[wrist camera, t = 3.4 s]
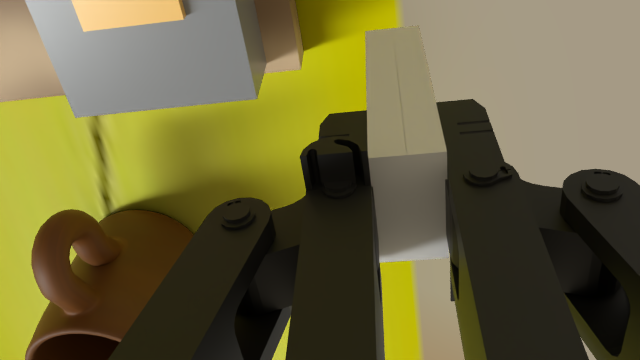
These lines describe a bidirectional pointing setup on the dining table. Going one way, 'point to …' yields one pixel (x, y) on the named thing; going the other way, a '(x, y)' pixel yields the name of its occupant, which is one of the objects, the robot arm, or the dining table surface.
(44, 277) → the mug
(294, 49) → the board
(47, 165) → the dining table surface
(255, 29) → the grey rectangular block
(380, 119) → the robot arm
